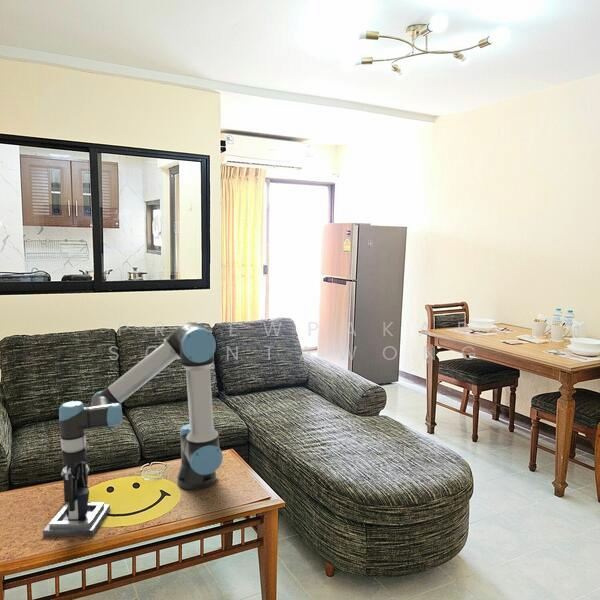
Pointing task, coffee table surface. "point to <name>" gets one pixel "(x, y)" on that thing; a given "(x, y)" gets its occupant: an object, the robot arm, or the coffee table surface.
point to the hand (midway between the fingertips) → (77, 513)
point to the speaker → (81, 501)
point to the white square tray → (77, 521)
